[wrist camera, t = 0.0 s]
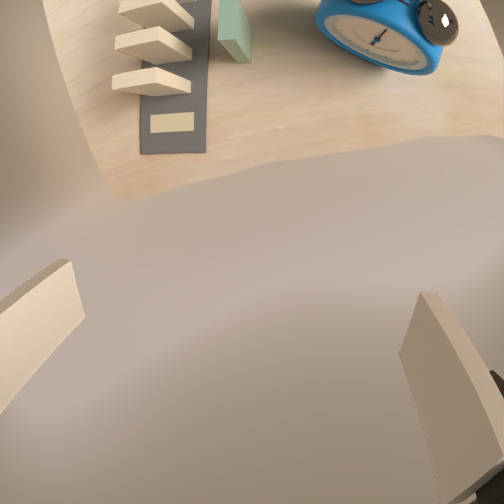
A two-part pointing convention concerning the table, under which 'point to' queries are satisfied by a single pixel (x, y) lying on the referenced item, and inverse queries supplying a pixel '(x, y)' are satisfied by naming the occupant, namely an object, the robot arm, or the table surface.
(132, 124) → the table surface
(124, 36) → the domino
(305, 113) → the table surface
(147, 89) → the domino
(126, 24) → the table surface
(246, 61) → the domino
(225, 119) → the table surface
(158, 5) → the domino
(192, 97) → the mat
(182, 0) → the domino
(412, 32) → the alarm clock
